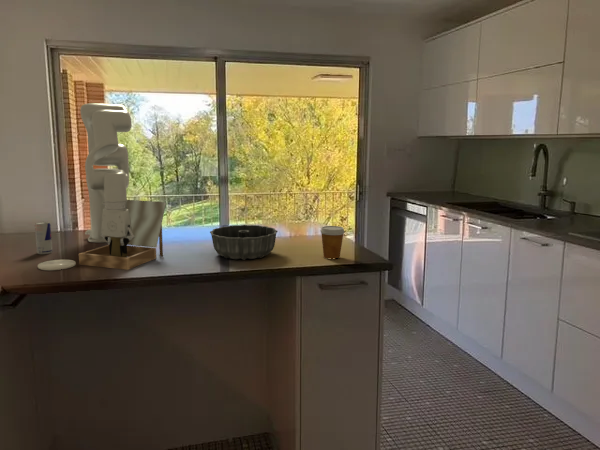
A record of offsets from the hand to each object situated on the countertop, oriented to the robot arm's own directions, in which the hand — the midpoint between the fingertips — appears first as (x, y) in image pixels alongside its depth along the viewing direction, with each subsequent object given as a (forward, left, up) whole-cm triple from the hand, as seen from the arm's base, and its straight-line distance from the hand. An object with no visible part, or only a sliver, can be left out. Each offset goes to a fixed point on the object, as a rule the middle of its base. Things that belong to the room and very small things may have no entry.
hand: (118, 254), depth 179 cm
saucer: (-16, -13, -3) cm, 21 cm away
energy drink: (-35, +1, -3) cm, 35 cm away
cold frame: (0, +4, -3) cm, 5 cm away
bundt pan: (+39, +26, -3) cm, 47 cm away
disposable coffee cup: (+73, +34, -3) cm, 81 cm away
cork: (0, 0, -3) cm, 3 cm away
